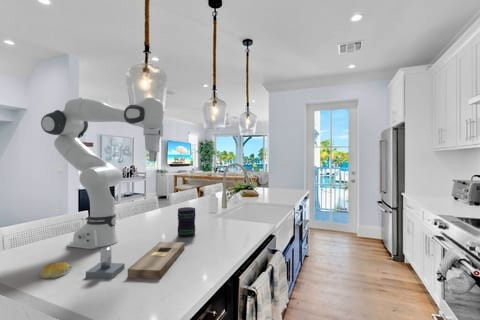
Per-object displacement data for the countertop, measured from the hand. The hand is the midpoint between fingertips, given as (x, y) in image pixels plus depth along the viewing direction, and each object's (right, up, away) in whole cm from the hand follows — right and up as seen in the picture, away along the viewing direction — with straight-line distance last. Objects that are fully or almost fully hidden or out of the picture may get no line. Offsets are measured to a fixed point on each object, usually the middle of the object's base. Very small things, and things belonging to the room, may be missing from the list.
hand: (153, 161), depth 117 cm
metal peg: (-9, -40, -25) cm, 48 cm away
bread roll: (-27, -42, -26) cm, 56 cm away
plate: (-9, -42, -25) cm, 49 cm away
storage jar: (+11, -42, +22) cm, 49 cm away
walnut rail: (+8, -42, -14) cm, 45 cm away
